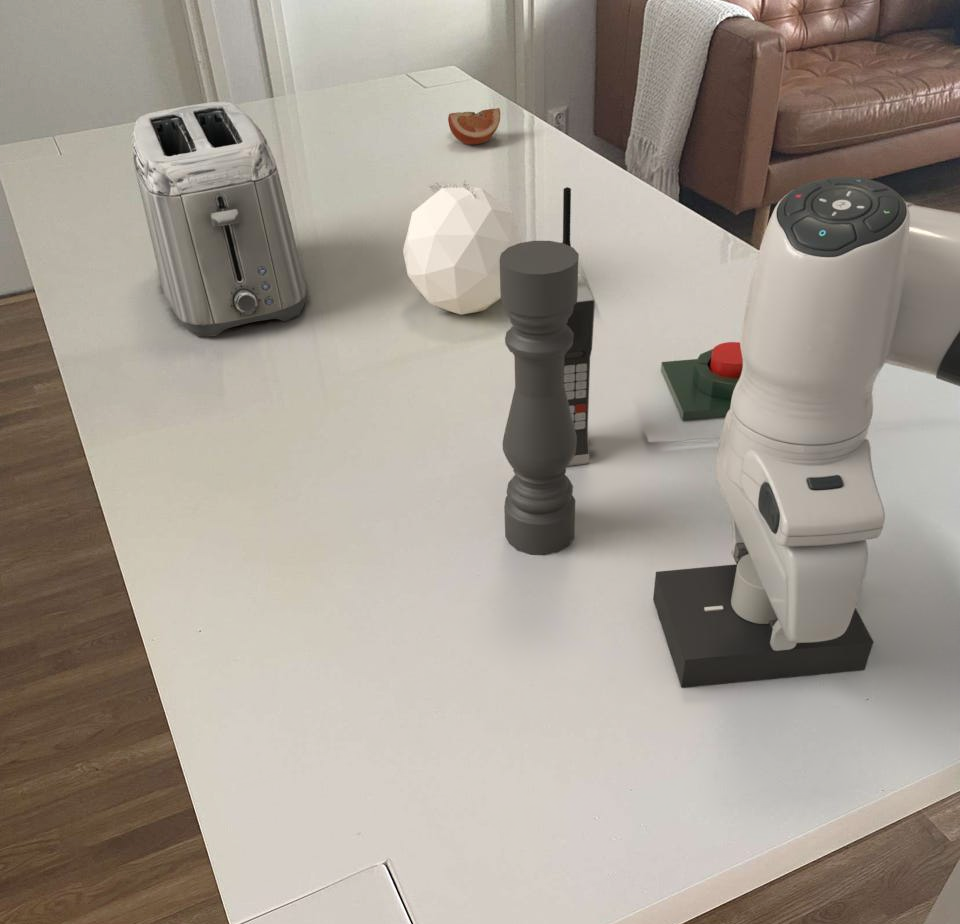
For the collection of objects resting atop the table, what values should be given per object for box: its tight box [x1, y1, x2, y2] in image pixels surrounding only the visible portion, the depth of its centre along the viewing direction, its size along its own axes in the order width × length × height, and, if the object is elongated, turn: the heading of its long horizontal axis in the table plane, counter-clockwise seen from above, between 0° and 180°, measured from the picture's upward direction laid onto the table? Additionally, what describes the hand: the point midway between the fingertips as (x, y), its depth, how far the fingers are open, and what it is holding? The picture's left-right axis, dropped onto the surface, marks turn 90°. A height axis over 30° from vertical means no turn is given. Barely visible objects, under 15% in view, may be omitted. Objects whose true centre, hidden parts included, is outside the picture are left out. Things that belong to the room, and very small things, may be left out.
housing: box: [660, 348, 739, 422], centre depth 102 cm, size 12×10×4 cm
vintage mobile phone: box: [562, 186, 596, 467], centre depth 89 cm, size 4×5×25 cm
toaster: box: [131, 101, 307, 338], centre depth 121 cm, size 17×30×19 cm, turn 19°
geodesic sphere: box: [402, 180, 523, 316], centre depth 117 cm, size 15×14×14 cm
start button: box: [710, 341, 743, 378], centre depth 101 cm, size 4×4×2 cm
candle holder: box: [500, 240, 580, 556], centre depth 81 cm, size 6×6×25 cm
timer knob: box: [731, 554, 778, 624], centre depth 76 cm, size 4×4×4 cm
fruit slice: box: [447, 107, 501, 145], centre depth 160 cm, size 8×7×5 cm
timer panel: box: [652, 563, 874, 689], centre depth 78 cm, size 14×10×3 cm
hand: (761, 600), depth 77 cm, fingers open, 8 cm apart
